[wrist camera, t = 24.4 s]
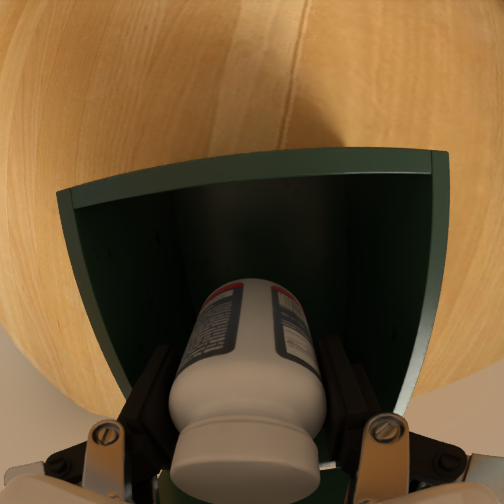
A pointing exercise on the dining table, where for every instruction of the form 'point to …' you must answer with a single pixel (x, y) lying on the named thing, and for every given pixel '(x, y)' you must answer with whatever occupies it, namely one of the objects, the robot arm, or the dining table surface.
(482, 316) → the dining table surface
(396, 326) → the box
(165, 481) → the lid
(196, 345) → the pill bottle
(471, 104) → the dining table surface
